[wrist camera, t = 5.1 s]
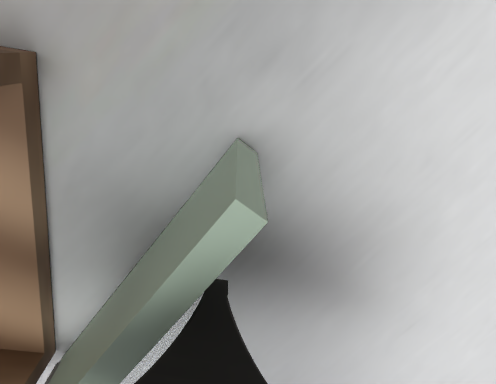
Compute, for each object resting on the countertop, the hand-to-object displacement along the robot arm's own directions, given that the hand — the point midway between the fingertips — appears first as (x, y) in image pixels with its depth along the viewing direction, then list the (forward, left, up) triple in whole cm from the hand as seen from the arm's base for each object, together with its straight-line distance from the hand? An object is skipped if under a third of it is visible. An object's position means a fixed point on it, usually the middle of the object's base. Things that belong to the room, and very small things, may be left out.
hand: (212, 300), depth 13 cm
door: (-2, +3, -3) cm, 5 cm away
